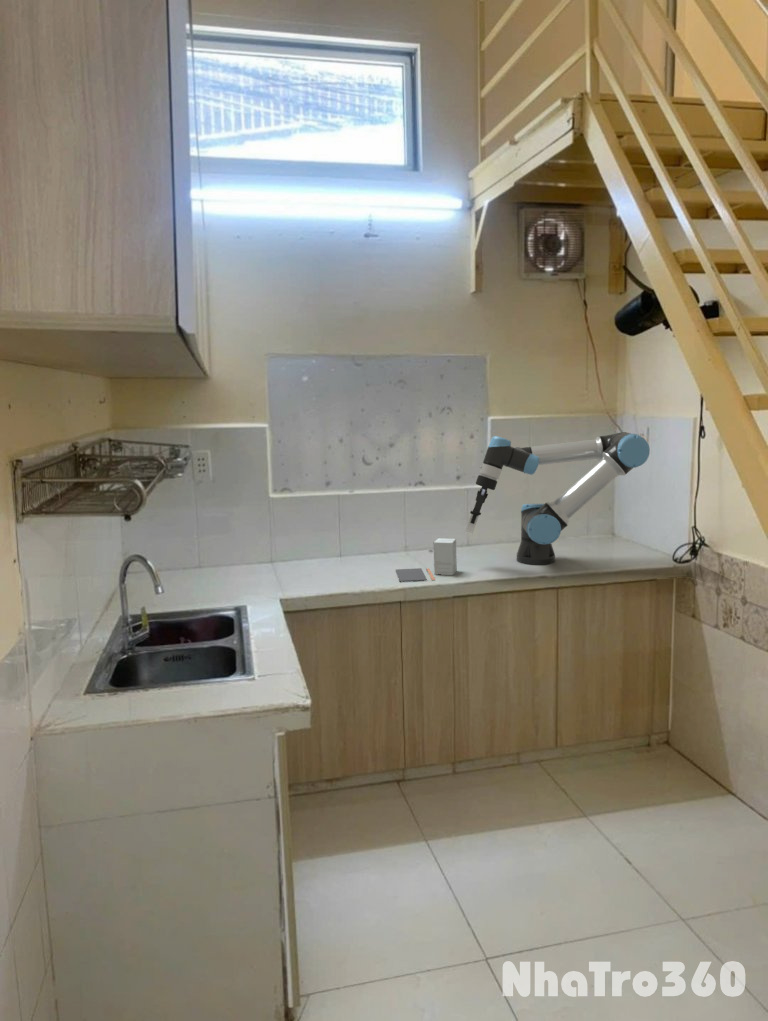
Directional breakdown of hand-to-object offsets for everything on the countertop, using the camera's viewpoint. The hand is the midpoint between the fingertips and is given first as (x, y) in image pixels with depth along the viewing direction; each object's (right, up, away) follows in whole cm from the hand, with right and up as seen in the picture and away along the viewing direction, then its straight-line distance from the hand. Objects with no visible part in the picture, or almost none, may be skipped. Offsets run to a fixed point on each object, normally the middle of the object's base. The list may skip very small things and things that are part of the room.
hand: (469, 531), depth 258 cm
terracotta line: (-15, -16, +1) cm, 22 cm away
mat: (-22, -17, 0) cm, 28 cm away
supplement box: (-9, -16, +3) cm, 19 cm away
